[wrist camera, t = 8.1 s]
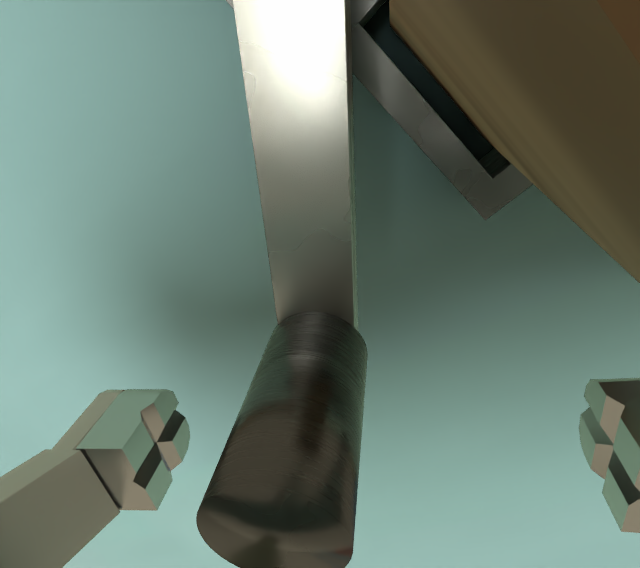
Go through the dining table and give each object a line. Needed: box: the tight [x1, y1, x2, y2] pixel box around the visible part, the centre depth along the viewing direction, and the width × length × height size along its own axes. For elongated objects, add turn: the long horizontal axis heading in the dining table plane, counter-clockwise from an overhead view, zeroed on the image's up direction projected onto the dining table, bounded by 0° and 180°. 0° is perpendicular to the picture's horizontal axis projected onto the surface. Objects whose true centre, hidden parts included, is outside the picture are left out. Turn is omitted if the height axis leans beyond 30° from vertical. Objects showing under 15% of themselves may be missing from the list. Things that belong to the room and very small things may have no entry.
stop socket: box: [351, 0, 533, 220], centre depth 10 cm, size 7×7×2 cm
